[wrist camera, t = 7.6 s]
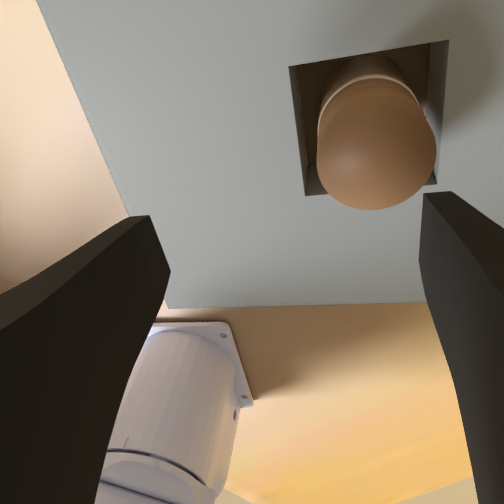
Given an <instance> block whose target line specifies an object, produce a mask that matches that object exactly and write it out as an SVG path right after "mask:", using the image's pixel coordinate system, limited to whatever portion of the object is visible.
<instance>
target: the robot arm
mask: <svg viewBox="0 0 504 504" xmlns="http://www.w3.org/2000/svg"><path fill="white" fill-rule="evenodd" d="M418 261H419V266H420V272H421V278H422V283H423V288H424V293H425V297H426V300H427V303H428V306H429V309H430V312H431V315H432V318H433V321H434V324H435V327H436V330H437V333H438V336H439V339H440V342H441V345H442V348H443V351H444V354H445V357H446V360H447V363H448V366H449V369H450V372H451V375H452V379H453V382H454V386H455V390H456V394H457V399H458V403H459V408H460V413H461V417H462V422H463V426H464V431H465V436H466V441H467V446H468V451H469V456H470V461H471V466H472V471H473V476H474V481H475V487H476V492H477V498H478V503H479V504H504V228H503V227H501V226H500V225H498V224H497V223H495V222H494V221H492V220H491V219H490V218H488V217H487V216H485V215H484V214H483V213H481V212H480V211H478V210H477V209H476V208H474V207H473V206H472V205H470V204H469V203H468V202H466V201H465V200H463V199H462V198H461V197H459V196H458V195H456V194H455V193H453V192H452V191H443V192H431V193H423V205H422V218H421V232H420V246H419V259H418ZM170 274H171V270H170V267H169V264H168V262H167V259H166V256H165V254H164V251H163V249H162V246H161V243H160V241H159V238H158V236H157V233H156V230H155V228H154V225H153V222H152V220H151V217H150V215H143V216H130V217H128V218H126V219H124V220H122V221H120V222H119V223H117V224H115V225H114V226H112V227H110V228H109V229H107V230H106V231H104V232H102V233H101V234H99V235H98V236H96V237H95V238H93V239H92V240H90V241H89V242H87V243H86V244H84V245H83V246H81V247H80V248H78V249H77V250H75V251H74V252H72V253H71V254H69V255H68V256H66V257H64V258H63V259H61V260H60V261H58V262H56V263H55V264H53V265H52V266H50V267H48V268H47V269H45V270H44V271H42V272H40V273H39V274H37V275H35V276H34V277H32V278H30V279H29V280H27V281H25V282H23V283H21V284H20V285H18V286H16V287H14V288H12V289H10V290H8V291H6V292H4V293H3V294H1V295H0V504H214V502H215V499H216V498H217V497H218V496H219V494H220V492H221V490H222V489H223V487H224V485H225V482H226V479H227V474H228V469H229V464H230V459H231V454H232V449H233V444H234V438H235V433H236V428H237V423H238V418H239V413H240V408H250V407H252V406H253V398H252V395H251V392H250V389H249V386H248V383H247V379H246V376H245V373H244V370H243V367H242V364H241V361H240V357H239V354H238V351H237V348H236V345H235V342H234V339H233V336H232V332H231V329H230V326H229V325H228V324H227V323H225V322H176V323H154V321H155V319H156V316H157V314H158V312H159V309H160V307H161V305H162V302H163V300H164V296H165V293H166V289H167V286H168V282H169V278H170ZM223 333H224V334H223Z"/></svg>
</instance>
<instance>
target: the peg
mask: <svg viewBox="0 0 504 504" xmlns="http://www.w3.org/2000/svg"><path fill="white" fill-rule="evenodd" d="M436 155H437V146H436V140H435V136H434V133H433V131H432V129H431V127H430V125H429V124H428V122H427V120H426V118H425V116H424V114H423V112H422V110H421V108H420V105H419V103H418V101H417V99H416V97H415V95H414V94H413V92H412V91H411V90H410V88H409V86H408V84H407V82H406V80H405V78H404V77H403V75H402V73H401V72H400V70H399V69H398V68H397V67H396V66H395V65H394V64H393V63H391V62H390V61H388V60H386V59H384V58H381V57H378V56H360V57H356V58H353V59H350V60H348V61H346V62H344V63H343V64H341V65H340V66H339V67H338V68H336V69H335V70H334V71H333V72H332V74H331V75H330V76H329V78H328V79H327V81H326V83H325V85H324V87H323V90H322V93H321V100H320V114H319V120H318V144H317V160H316V162H317V172H318V176H319V179H320V181H321V183H322V185H323V187H324V188H325V190H326V191H327V192H328V193H329V194H330V195H331V196H332V197H333V198H334V199H335V200H337V201H338V202H340V203H342V204H344V205H346V206H348V207H352V208H355V209H360V210H380V209H385V208H389V207H392V206H395V205H398V204H400V203H402V202H404V201H405V200H407V199H409V198H410V197H412V196H413V195H414V194H415V193H417V192H418V191H419V190H420V189H421V188H422V186H423V185H424V184H425V183H426V181H427V180H428V178H429V177H430V175H431V173H432V170H433V168H434V165H435V162H436Z"/></svg>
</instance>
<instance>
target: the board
mask: <svg viewBox="0 0 504 504" xmlns="http://www.w3.org/2000/svg"><path fill="white" fill-rule="evenodd" d="M36 1H37V4H38V6H39V8H40V11H41V13H42V15H43V18H44V20H45V22H46V25H47V27H48V29H49V32H50V34H51V36H52V39H53V41H54V43H55V46H56V48H57V50H58V53H59V55H60V57H61V60H62V62H63V64H64V67H65V69H66V71H67V74H68V76H69V78H70V81H71V83H72V85H73V87H74V90H75V92H76V94H77V97H78V99H79V101H80V104H81V106H82V108H83V111H84V113H85V115H86V118H87V120H88V122H89V125H90V127H91V129H92V132H93V134H94V136H95V139H96V141H97V143H98V146H99V148H100V150H101V153H102V155H103V157H104V160H105V162H106V164H107V167H108V169H109V171H110V174H111V176H112V178H113V181H114V183H115V185H116V188H117V190H118V192H119V195H120V197H121V199H122V202H123V204H124V206H125V209H126V211H127V213H128V216H129V217H130V216H143V215H150V217H151V220H152V222H153V225H154V228H155V230H156V233H157V236H158V238H159V241H160V243H161V246H162V249H163V251H164V254H165V256H166V259H167V262H168V264H169V267H170V270H171V274H170V278H169V282H168V286H167V289H166V293H165V296H164V299H165V302H166V304H167V306H168V309H184V308H222V307H260V306H298V305H336V304H374V303H412V302H427V300H426V297H425V293H424V288H423V283H422V278H421V272H420V266H419V261H418V259H419V246H420V232H421V218H422V205H423V193H431V192H443V191H452V192H453V193H455V194H456V195H458V196H459V197H461V198H462V199H463V200H465V201H466V202H468V203H469V204H470V205H472V206H473V207H474V208H476V209H477V210H478V211H480V212H481V213H483V214H484V215H485V216H487V217H488V218H490V219H491V220H492V221H494V222H495V223H497V224H498V225H500V226H501V227H503V228H504V0H36ZM425 43H430V59H429V76H428V92H427V109H426V120H427V122H428V124H429V125H430V127H431V129H432V131H433V133H434V136H435V140H436V146H437V155H436V162H435V165H434V168H433V170H432V173H431V175H430V177H429V178H428V180H427V181H426V183H425V184H424V185H423V186H422V188H421V189H420V190H419V191H418V192H417V193H415V194H414V195H413V196H412V197H410V198H409V199H407V200H405V201H404V202H402V203H400V204H398V205H395V206H392V207H389V208H385V209H380V210H360V209H355V208H352V207H348V206H346V205H344V204H342V203H340V202H338V201H337V200H335V199H334V198H333V197H332V196H331V195H330V194H329V193H328V192H327V191H326V190H325V188H324V187H323V185H322V183H321V181H320V179H319V176H318V172H317V164H316V165H308V159H307V150H306V142H305V133H304V125H303V116H302V108H301V99H300V91H299V82H298V74H297V65H299V64H305V63H311V62H317V61H323V60H329V59H335V58H341V57H347V56H353V55H359V54H365V53H371V52H377V51H383V50H389V49H395V48H401V47H407V46H413V45H419V44H425Z"/></svg>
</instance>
